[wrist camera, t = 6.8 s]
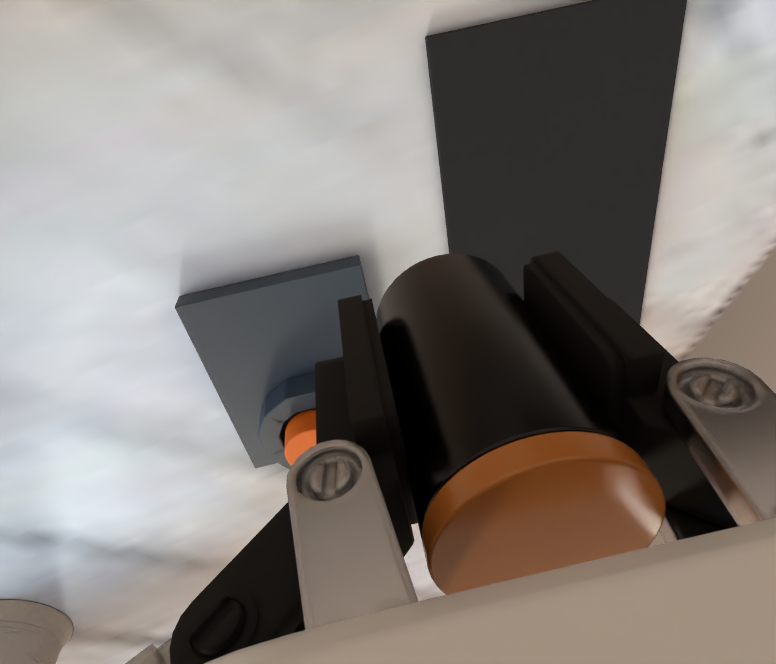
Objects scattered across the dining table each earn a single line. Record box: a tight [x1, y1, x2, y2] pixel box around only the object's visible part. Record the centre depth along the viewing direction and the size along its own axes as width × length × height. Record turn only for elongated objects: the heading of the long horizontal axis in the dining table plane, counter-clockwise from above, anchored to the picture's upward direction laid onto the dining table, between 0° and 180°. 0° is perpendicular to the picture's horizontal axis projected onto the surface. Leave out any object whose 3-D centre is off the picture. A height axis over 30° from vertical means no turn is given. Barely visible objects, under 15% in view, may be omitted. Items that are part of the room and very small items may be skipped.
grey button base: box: [175, 256, 369, 469], centre depth 29 cm, size 13×10×3 cm
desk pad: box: [425, 0, 687, 324], centre depth 27 cm, size 20×12×1 cm, turn 10°
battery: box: [376, 254, 666, 595], centre depth 9 cm, size 3×3×6 cm
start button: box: [285, 409, 316, 466], centre depth 29 cm, size 4×4×2 cm
